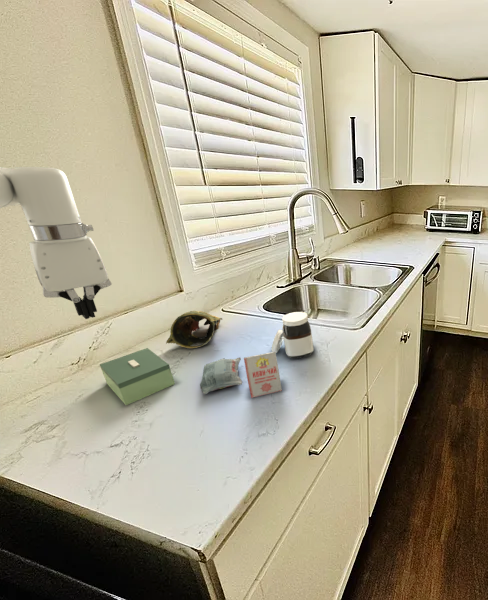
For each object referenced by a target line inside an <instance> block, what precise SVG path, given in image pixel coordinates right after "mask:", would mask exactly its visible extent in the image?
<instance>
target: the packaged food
mask: <svg viewBox="0 0 488 600" xmlns="http://www.w3.org/2000/svg"><path fill="white" fill-rule="evenodd" d="M241 361H242V358H241V357H237V358H225V357H224V358H220V359H217V360H215V361H211V362H209V363H206V364H205V365H204V366H203V371H202V377H201V381H200V383H199V388H200V390H201V392H202V393H203V394H204V395H208V394H209V392H214V391H218V390H219V391H220V390H222V389H226V388H230V387H233V386H236V385H237V386H240V385H243V380H242V379H241V377H240V376H239V371H238V370H239V366H240V362H241Z"/></svg>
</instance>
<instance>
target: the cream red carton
mask: <svg viewBox="0 0 488 600" xmlns="http://www.w3.org/2000/svg"><path fill="white" fill-rule="evenodd" d="M243 360H244V367H245V372H246V378H247V384H248V389H249V393H250V397H251V399H253V398H257V397H261V396H265V395H269V394H274V393H278V392H282V390H283V389H282V383H281V376H280V370H279V369H280V368H279V364H278V359H277V353H276V352H272V351H270V352H266V353H261V354H254V355H251V356H245V357H243Z"/></svg>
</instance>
